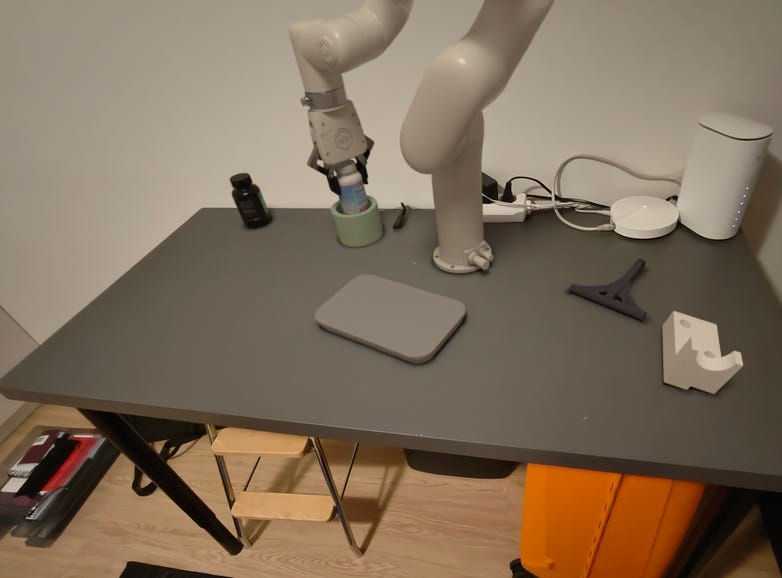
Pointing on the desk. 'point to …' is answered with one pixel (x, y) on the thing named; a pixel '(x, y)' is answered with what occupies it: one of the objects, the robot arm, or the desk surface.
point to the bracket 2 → (695, 354)
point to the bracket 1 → (615, 293)
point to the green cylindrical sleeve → (358, 224)
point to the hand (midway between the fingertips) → (350, 187)
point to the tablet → (392, 317)
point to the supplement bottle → (249, 201)
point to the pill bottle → (351, 188)
